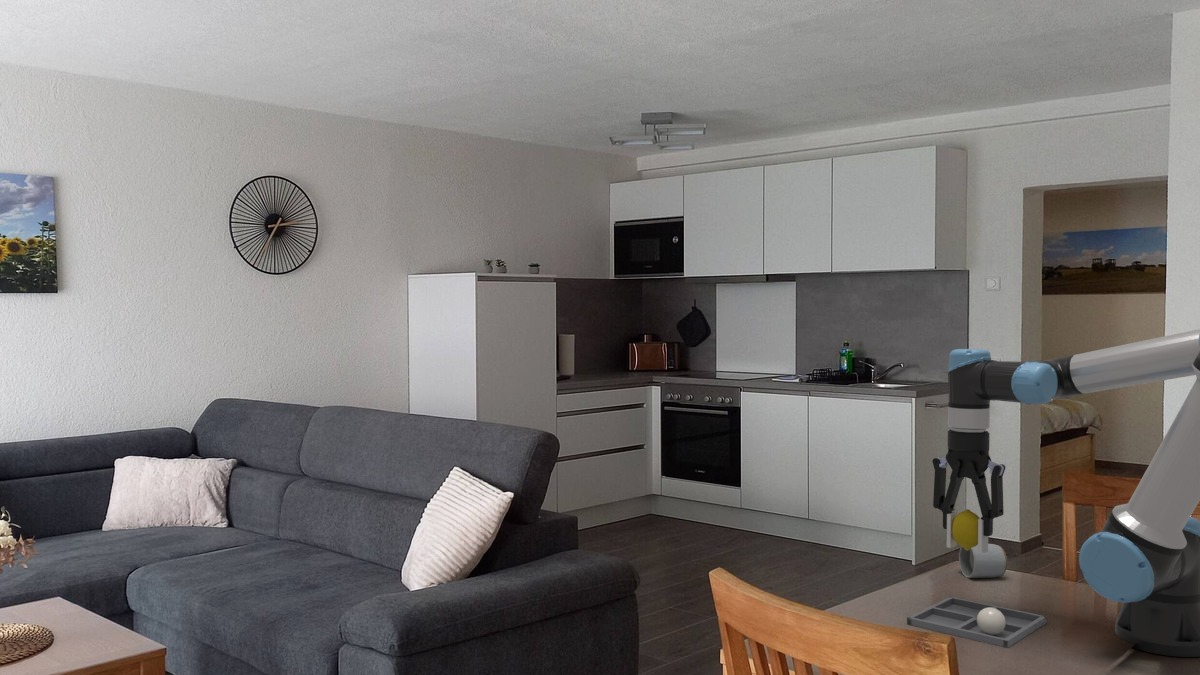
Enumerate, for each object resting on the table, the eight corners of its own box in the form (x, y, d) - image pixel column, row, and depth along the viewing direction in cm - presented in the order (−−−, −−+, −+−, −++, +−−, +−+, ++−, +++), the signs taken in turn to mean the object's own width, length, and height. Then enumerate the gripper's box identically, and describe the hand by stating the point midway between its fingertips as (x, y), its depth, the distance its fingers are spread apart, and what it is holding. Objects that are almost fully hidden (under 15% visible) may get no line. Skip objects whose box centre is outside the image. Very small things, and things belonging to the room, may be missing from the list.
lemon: (984, 555, 182) (985, 513, 182) (953, 553, 184) (954, 511, 183) (980, 548, 188) (980, 507, 188) (950, 546, 189) (950, 505, 189)
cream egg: (1009, 634, 172) (1010, 607, 172) (999, 641, 169) (999, 613, 169) (983, 628, 176) (983, 602, 176) (972, 634, 172) (972, 608, 172)
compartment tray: (1046, 628, 179) (1046, 616, 179) (1007, 653, 165) (1007, 640, 165) (950, 607, 191) (950, 596, 191) (907, 629, 178) (907, 617, 178)
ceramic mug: (1009, 580, 210) (1009, 545, 210) (974, 582, 210) (974, 546, 210) (985, 568, 221) (985, 535, 221) (951, 570, 220) (951, 536, 220)
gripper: (1025, 432, 181) (1023, 554, 182) (932, 423, 194) (931, 537, 195) (1008, 435, 176) (1006, 562, 176) (914, 426, 189) (912, 544, 190)
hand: (967, 549), depth 186 cm, fingers closed on lemon, 5 cm apart
